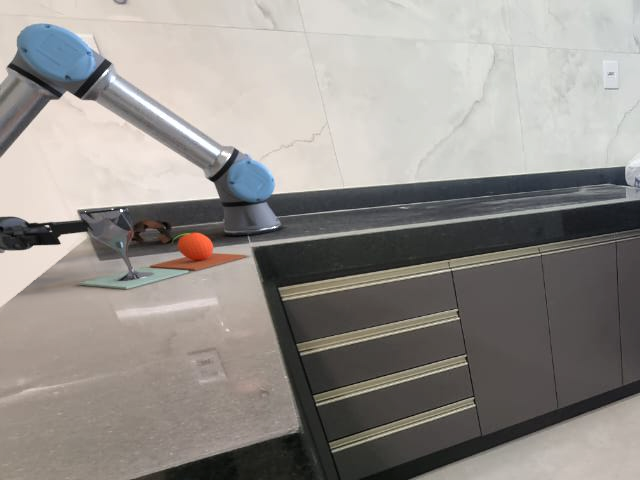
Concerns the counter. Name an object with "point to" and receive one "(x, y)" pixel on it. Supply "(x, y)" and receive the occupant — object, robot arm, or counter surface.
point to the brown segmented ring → (157, 225)
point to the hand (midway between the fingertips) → (88, 231)
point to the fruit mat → (197, 262)
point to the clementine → (195, 246)
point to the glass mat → (158, 275)
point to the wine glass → (113, 234)
